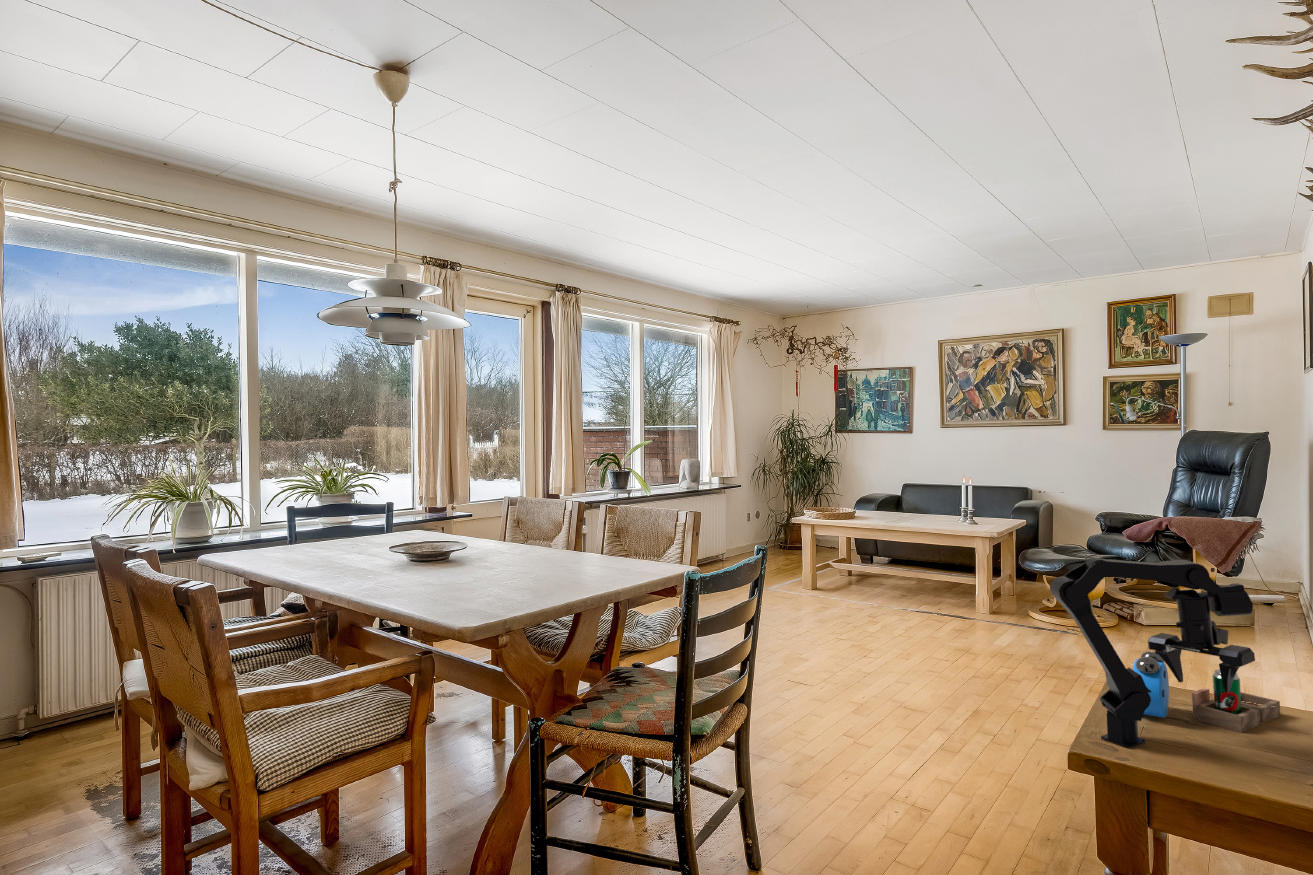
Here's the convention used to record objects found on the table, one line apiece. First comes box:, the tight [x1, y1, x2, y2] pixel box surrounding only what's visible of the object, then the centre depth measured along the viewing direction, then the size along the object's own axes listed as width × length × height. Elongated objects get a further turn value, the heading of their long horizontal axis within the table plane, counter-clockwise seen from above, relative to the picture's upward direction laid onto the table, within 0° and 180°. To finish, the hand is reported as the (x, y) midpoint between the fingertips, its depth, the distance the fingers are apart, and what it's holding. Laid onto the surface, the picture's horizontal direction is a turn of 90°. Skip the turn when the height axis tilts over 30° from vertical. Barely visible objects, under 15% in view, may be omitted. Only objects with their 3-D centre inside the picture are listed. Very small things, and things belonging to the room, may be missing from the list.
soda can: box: [1212, 669, 1242, 715], centre depth 168 cm, size 5×5×12 cm
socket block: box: [1191, 687, 1281, 733], centre depth 171 cm, size 19×10×6 cm, turn 117°
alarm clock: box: [1132, 650, 1170, 719], centre depth 174 cm, size 13×6×15 cm, turn 137°
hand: (1203, 686), depth 156 cm, fingers open, 9 cm apart
